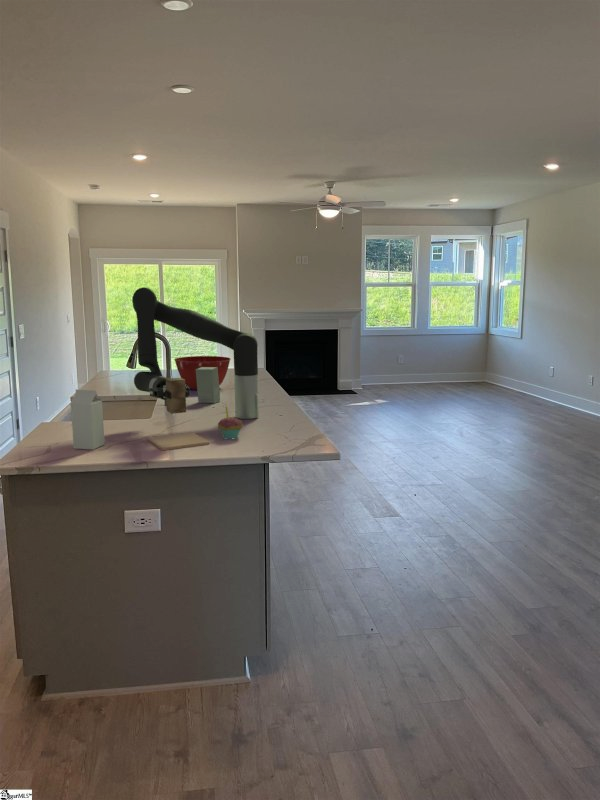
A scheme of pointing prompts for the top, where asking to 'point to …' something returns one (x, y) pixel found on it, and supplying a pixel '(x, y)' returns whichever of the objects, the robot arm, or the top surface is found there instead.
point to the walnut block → (176, 395)
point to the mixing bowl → (192, 363)
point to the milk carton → (87, 420)
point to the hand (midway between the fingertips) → (178, 395)
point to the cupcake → (230, 426)
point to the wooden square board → (178, 441)
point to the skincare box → (208, 385)
